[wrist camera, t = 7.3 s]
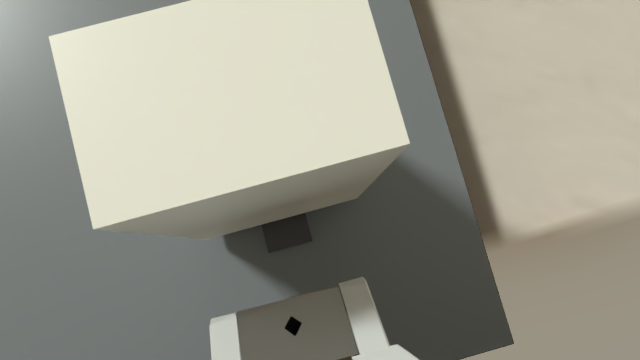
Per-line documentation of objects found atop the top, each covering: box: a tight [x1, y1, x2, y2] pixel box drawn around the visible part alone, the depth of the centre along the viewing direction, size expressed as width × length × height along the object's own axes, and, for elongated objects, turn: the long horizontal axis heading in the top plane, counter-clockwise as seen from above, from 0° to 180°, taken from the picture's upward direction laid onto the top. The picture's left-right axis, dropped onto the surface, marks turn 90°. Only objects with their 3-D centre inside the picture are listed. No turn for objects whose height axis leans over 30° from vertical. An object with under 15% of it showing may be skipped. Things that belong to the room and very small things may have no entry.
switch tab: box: [49, 0, 410, 239], centre depth 11 cm, size 4×2×8 cm, turn 105°
